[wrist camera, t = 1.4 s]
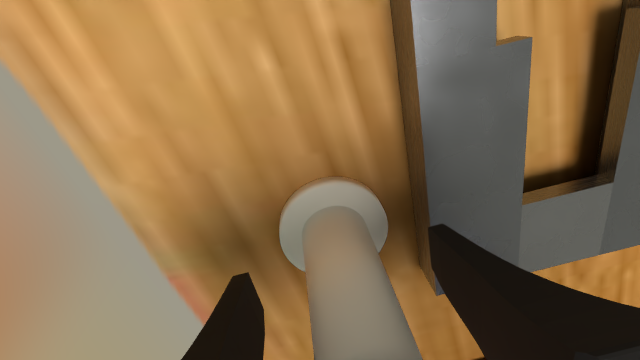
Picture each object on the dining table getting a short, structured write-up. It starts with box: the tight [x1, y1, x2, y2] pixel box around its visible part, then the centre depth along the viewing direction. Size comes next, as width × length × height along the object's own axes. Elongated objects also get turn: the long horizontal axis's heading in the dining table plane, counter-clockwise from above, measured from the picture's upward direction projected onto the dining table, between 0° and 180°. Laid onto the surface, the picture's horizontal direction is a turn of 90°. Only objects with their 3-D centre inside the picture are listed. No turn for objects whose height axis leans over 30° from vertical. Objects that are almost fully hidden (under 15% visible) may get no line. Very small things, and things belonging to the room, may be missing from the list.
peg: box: [279, 176, 423, 360], centre depth 13 cm, size 5×5×8 cm
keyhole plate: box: [390, 0, 640, 296], centre depth 13 cm, size 20×12×2 cm, turn 13°
